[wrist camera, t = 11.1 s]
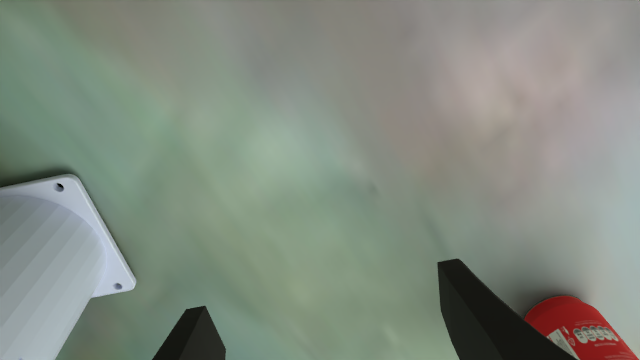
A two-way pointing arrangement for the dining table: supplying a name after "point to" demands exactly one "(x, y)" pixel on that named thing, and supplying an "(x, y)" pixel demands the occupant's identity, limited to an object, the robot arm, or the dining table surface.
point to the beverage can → (578, 329)
